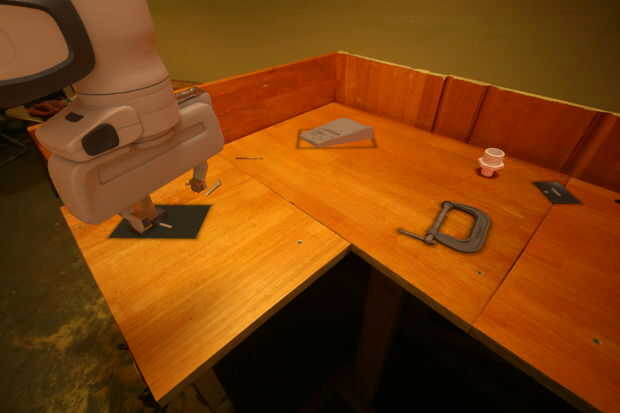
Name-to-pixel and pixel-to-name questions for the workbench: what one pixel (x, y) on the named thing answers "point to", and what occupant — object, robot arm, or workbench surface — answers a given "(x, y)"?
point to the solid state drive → (556, 193)
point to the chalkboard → (170, 223)
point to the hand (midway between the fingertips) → (173, 207)
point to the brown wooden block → (148, 214)
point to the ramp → (337, 133)
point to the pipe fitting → (491, 161)
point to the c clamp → (460, 245)
